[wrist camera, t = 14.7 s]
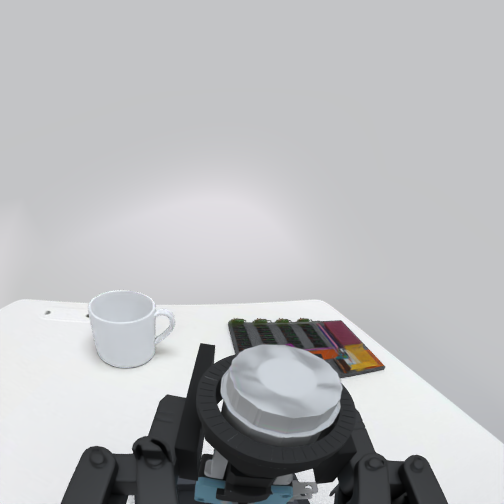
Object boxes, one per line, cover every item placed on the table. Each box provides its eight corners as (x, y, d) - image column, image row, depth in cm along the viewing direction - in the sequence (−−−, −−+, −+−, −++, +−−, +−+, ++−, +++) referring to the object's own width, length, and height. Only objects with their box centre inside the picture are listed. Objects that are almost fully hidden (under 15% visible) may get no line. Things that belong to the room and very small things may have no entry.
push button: (304, 465, 13) (372, 342, 10) (311, 533, 7) (425, 433, 5) (198, 453, 13) (214, 320, 10) (182, 524, 7) (179, 426, 5)
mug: (86, 363, 32) (76, 317, 30) (106, 327, 42) (101, 286, 40) (172, 376, 34) (171, 330, 32) (177, 336, 44) (178, 295, 42)
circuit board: (340, 322, 57) (343, 311, 56) (384, 369, 40) (389, 357, 40) (228, 324, 51) (229, 312, 50) (245, 387, 34) (247, 374, 34)
